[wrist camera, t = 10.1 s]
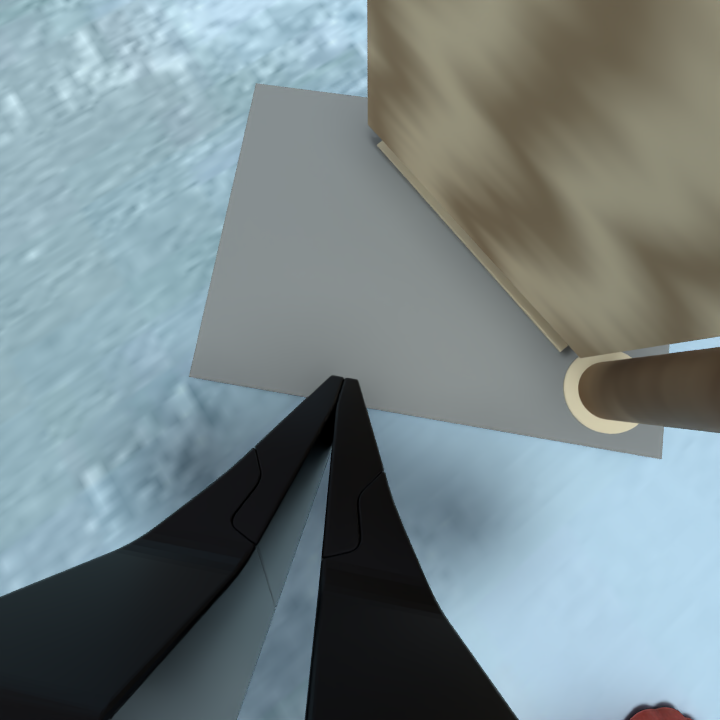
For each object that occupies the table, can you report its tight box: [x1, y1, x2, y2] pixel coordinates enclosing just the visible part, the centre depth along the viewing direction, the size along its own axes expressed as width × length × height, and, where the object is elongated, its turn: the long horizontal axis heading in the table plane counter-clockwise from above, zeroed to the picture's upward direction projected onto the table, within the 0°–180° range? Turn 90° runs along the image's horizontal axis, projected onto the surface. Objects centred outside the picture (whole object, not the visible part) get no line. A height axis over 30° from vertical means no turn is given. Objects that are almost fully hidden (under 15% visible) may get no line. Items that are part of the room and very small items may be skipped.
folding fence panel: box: [367, 0, 720, 358], centre depth 10 cm, size 16×1×11 cm, turn 39°
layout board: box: [189, 84, 669, 459], centre depth 17 cm, size 18×25×1 cm
